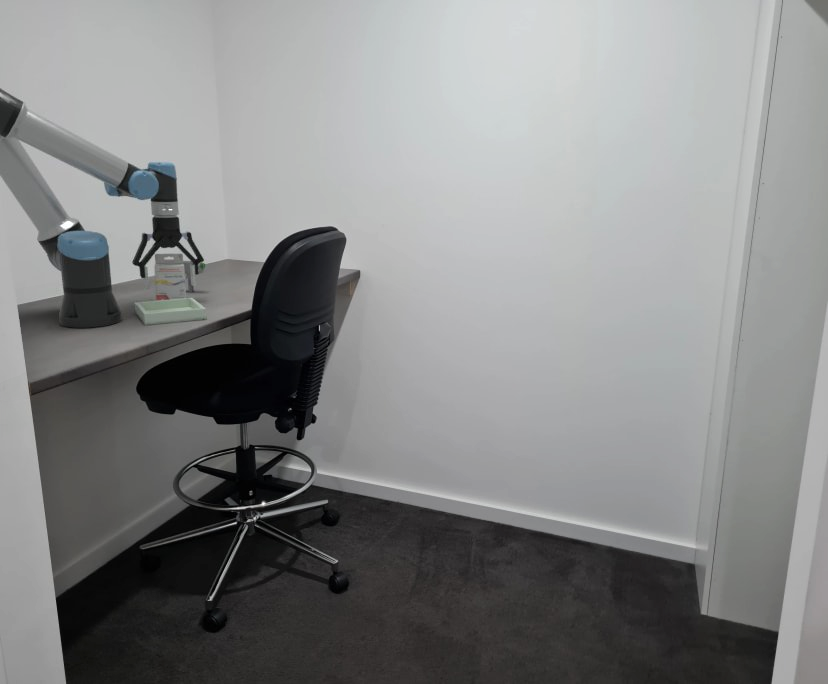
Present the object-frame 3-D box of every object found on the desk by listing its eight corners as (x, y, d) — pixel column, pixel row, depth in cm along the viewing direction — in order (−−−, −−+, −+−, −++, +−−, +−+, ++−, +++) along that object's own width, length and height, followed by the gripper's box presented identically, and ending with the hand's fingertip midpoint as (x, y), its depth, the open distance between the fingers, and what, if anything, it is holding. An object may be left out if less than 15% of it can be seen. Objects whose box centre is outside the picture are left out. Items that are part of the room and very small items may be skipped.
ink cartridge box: (156, 304, 201) (152, 255, 197) (157, 301, 206) (153, 253, 202) (186, 303, 204) (183, 255, 200) (186, 300, 208) (183, 253, 204)
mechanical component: (203, 293, 218) (201, 263, 216) (174, 291, 220) (172, 261, 218) (207, 292, 221) (205, 261, 218) (179, 290, 223) (177, 260, 220)
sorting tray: (145, 325, 177) (144, 314, 176) (135, 312, 190) (134, 302, 190) (206, 319, 185) (206, 308, 184) (192, 307, 198) (192, 297, 198)
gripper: (121, 218, 188) (128, 292, 194) (211, 216, 201) (215, 286, 206) (118, 215, 195) (124, 287, 200) (205, 214, 207) (209, 281, 213)
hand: (170, 287), depth 203 cm, fingers open, 13 cm apart
